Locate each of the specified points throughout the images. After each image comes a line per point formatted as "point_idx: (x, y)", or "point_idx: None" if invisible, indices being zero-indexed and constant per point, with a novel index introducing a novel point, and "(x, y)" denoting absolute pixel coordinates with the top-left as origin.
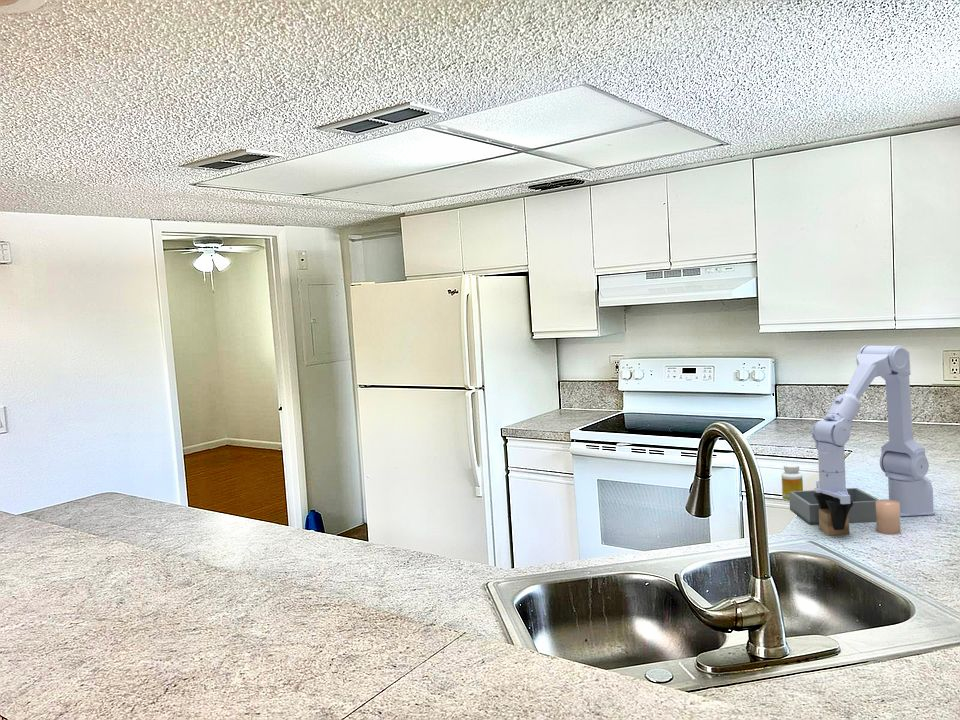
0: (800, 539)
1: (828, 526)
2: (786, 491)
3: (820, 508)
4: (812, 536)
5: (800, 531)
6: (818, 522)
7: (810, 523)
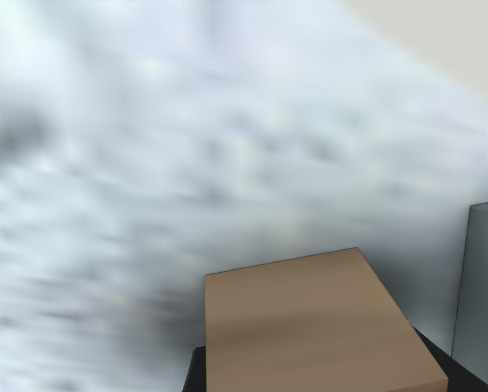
0: (78, 51)
1: (207, 330)
2: None
3: (486, 389)
4: (179, 171)
5: (322, 102)
6: (472, 268)
7: (476, 214)
